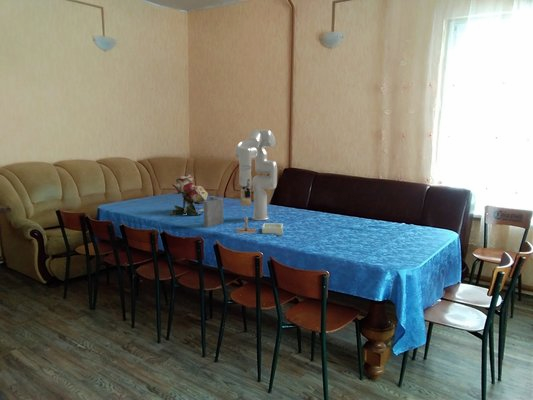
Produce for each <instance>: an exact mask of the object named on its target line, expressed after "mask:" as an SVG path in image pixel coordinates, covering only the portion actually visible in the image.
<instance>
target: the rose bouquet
mask: <svg viewBox="0 0 533 400" xmlns="http://www.w3.org/2000/svg"><path fill="white" fill-rule="evenodd" d="M175 182H176V183H173V184H172V187H174V189H175V191H176V192H173V193H172V195H180V194H181V196H182V199H183V201H182V202H183V204H182V206H178V205H176V204H174V205H173V207H174V209H172V210H171V211H169V216H172V215H176V216H177V215H183V214H186V213H187V215H186V216H190V215H196V216H200V215H199V214H198V212H200V211H204V208H201V205H204V201H207V198H208V196H209V192H207V191H206V190H205V188H204V187H203V186H200V185H194V177H193V176H192V175H191V174H189V173H186V174H184V175H181V176H180V178H179V177H177V178H176V179H175ZM186 205H187V206H186ZM195 205H197V207H200V208H199V209H196V206H195ZM196 210H197V211H198V212H196Z"/></svg>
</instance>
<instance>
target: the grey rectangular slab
mask: <svg viewBox="0 0 533 400" xmlns="http://www.w3.org/2000/svg"><path fill="white" fill-rule="evenodd" d="M209 198H210V199H208V200H207V199H206V201H204V203H203V209H204V213H203V227H204V228H210V226H211V227H215V226H219V224H220V225H221V224H223V223H224V198H221V197H220V198H216V196H215V195H211V196H209ZM214 225H215V226H214Z"/></svg>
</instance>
